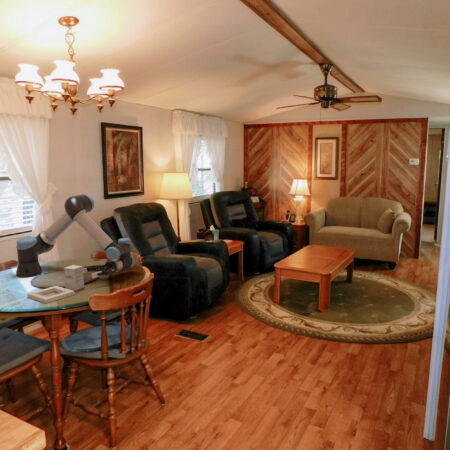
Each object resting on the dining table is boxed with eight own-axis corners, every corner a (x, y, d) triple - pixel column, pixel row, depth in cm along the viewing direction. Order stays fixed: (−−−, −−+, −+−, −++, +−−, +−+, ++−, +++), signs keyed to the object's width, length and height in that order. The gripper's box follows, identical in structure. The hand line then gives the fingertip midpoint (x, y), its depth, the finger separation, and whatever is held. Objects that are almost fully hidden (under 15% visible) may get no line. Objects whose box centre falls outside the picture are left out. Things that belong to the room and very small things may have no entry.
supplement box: (65, 289, 238) (63, 267, 236) (74, 285, 245) (73, 264, 243) (75, 291, 235) (73, 269, 233) (84, 287, 242) (83, 265, 240)
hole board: (27, 297, 225) (27, 293, 224) (56, 289, 239) (55, 285, 238) (45, 303, 215) (45, 299, 215) (74, 294, 229) (74, 291, 229)
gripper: (127, 275, 255) (99, 283, 237) (100, 269, 269) (71, 277, 251) (127, 263, 253) (98, 271, 236) (99, 257, 267) (70, 264, 250)
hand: (84, 274), depth 244 cm, fingers open, 13 cm apart
